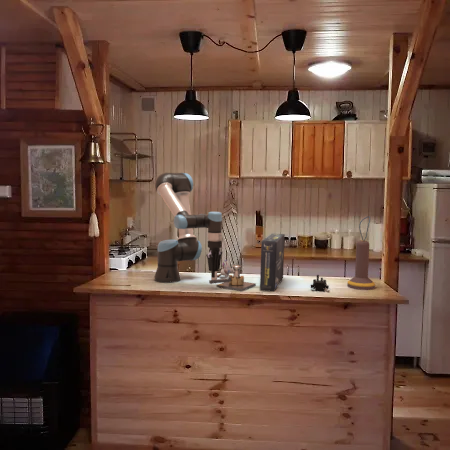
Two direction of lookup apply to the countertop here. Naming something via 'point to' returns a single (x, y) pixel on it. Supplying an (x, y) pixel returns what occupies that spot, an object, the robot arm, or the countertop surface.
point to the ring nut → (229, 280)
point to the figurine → (226, 270)
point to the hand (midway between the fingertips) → (214, 282)
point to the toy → (319, 284)
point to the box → (272, 262)
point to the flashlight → (362, 266)
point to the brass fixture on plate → (236, 287)
